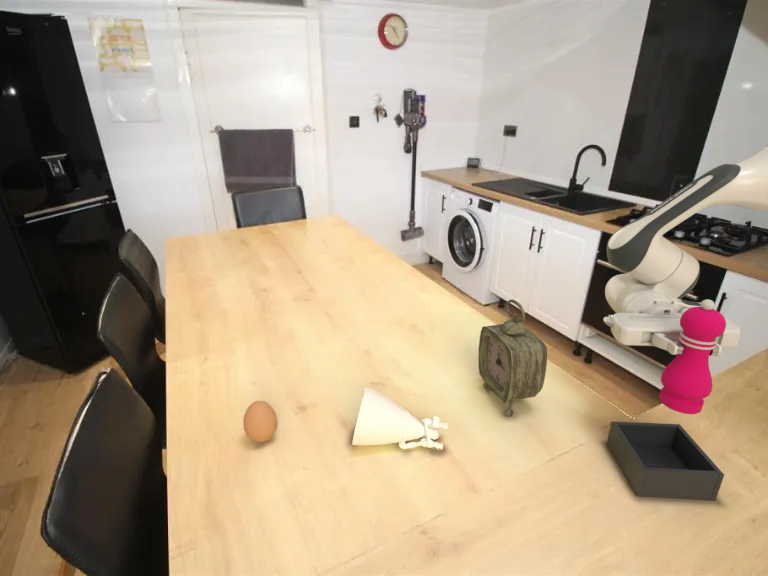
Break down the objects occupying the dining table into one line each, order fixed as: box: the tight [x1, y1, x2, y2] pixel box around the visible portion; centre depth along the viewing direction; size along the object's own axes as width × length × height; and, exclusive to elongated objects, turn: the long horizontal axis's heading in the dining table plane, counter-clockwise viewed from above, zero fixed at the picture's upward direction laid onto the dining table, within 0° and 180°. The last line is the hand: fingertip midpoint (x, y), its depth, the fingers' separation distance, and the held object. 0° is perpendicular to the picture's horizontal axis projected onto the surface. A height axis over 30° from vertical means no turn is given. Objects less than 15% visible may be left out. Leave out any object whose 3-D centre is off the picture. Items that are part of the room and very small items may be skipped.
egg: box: [242, 400, 278, 443], centre depth 84 cm, size 7×7×9 cm
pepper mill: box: [658, 298, 726, 415], centre depth 69 cm, size 7×7×20 cm
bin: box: [606, 420, 725, 501], centre depth 74 cm, size 13×13×6 cm
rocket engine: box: [351, 386, 449, 451], centre depth 82 cm, size 12×12×18 cm
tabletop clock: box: [477, 299, 548, 417], centre depth 92 cm, size 14×9×25 cm, turn 14°
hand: (698, 351), depth 68 cm, fingers closed on pepper mill, 4 cm apart
